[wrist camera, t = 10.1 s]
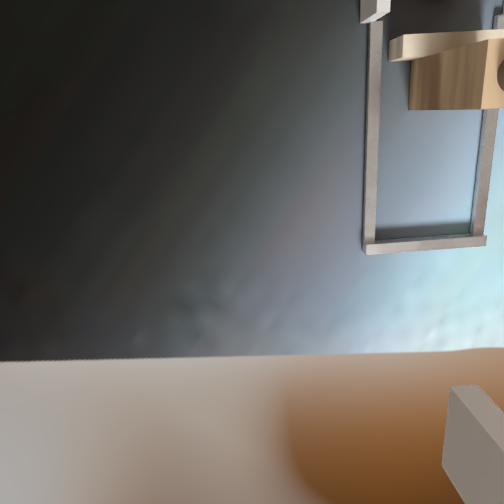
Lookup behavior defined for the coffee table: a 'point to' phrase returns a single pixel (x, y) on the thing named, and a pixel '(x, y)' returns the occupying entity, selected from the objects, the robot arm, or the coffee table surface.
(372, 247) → the rails
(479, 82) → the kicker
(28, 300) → the coffee table surface
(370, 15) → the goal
